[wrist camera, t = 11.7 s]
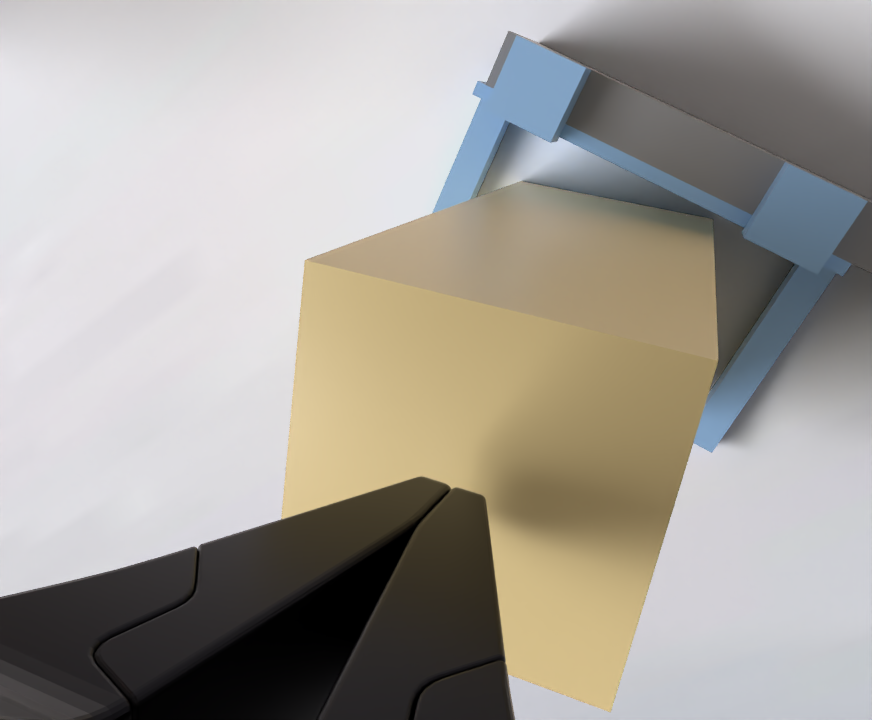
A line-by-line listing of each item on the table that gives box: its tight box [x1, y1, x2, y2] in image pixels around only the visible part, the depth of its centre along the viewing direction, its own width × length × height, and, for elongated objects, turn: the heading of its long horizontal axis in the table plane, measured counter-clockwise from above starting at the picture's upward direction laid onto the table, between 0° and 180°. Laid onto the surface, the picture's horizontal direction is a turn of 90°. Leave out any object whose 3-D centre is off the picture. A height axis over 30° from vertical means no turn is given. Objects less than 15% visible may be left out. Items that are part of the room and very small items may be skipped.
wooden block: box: [281, 181, 718, 712], centre depth 15 cm, size 5×5×12 cm
